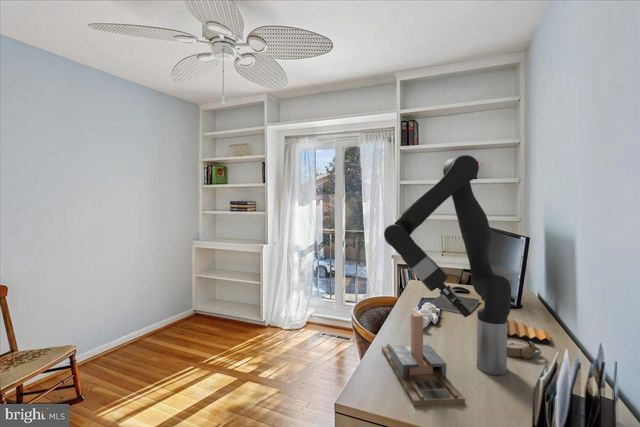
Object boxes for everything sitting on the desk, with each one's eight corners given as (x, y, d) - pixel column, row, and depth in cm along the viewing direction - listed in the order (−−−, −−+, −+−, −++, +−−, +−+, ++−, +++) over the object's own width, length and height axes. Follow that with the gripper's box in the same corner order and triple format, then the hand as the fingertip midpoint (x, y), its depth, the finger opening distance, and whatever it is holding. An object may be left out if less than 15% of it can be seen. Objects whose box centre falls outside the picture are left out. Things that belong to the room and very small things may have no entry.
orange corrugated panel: (484, 318, 168) (482, 335, 146) (484, 311, 168) (482, 328, 146) (542, 326, 156) (551, 346, 134) (542, 319, 156) (551, 338, 134)
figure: (431, 335, 149) (445, 316, 169) (431, 319, 148) (444, 301, 169) (403, 329, 156) (419, 311, 176) (403, 314, 155) (419, 297, 176)
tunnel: (390, 359, 119) (390, 346, 119) (428, 358, 120) (428, 344, 120) (403, 380, 105) (403, 364, 105) (446, 378, 106) (446, 363, 106)
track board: (381, 350, 130) (381, 344, 130) (419, 349, 131) (419, 343, 131) (413, 406, 94) (413, 397, 94) (464, 403, 95) (465, 395, 95)
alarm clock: (500, 336, 137) (542, 339, 127) (502, 348, 136) (545, 352, 126) (491, 344, 129) (535, 348, 119) (493, 357, 128) (538, 363, 118)
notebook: (442, 297, 207) (426, 308, 185) (442, 293, 207) (426, 304, 185) (480, 303, 194) (467, 315, 172) (480, 299, 194) (467, 311, 171)
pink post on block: (401, 363, 116) (401, 311, 116) (423, 362, 117) (424, 310, 116) (409, 374, 108) (409, 319, 108) (433, 373, 109) (433, 318, 108)
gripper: (439, 265, 101) (479, 309, 96) (437, 265, 114) (472, 302, 110) (420, 281, 102) (459, 325, 97) (420, 279, 115) (454, 317, 111)
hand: (466, 313), depth 103 cm, fingers open, 8 cm apart
